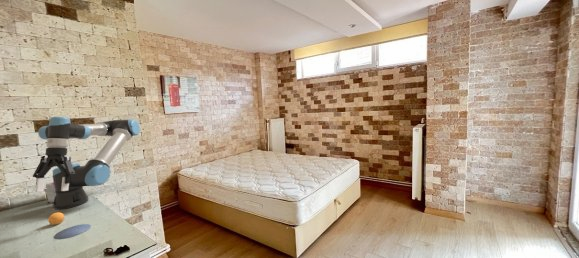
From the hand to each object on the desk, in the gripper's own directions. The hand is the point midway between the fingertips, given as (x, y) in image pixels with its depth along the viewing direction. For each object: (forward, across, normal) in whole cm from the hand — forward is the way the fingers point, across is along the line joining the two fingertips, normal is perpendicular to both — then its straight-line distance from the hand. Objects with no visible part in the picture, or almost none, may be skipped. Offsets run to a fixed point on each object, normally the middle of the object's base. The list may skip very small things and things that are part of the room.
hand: (52, 191), depth 112 cm
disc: (+18, +18, -4) cm, 25 cm away
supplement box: (+8, -31, +28) cm, 43 cm away
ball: (+13, +2, +1) cm, 13 cm away
